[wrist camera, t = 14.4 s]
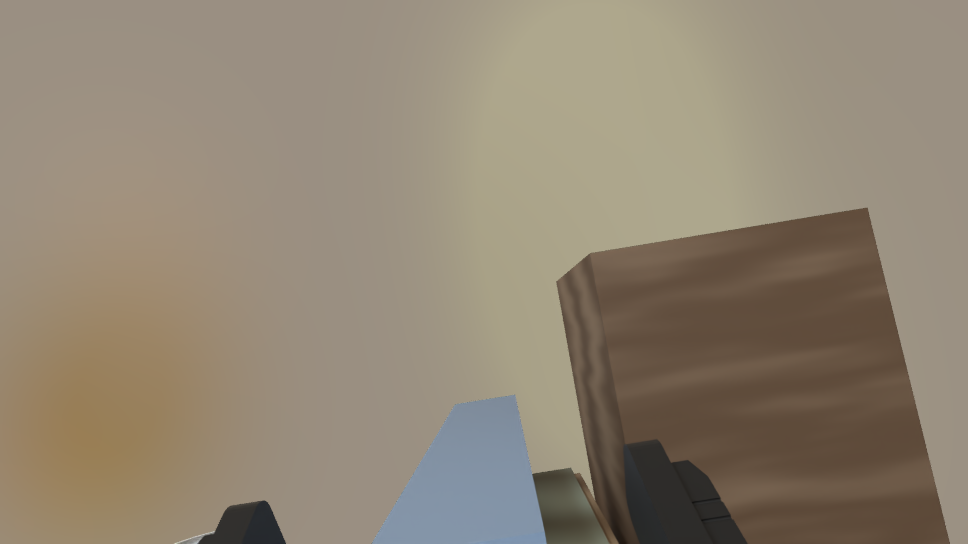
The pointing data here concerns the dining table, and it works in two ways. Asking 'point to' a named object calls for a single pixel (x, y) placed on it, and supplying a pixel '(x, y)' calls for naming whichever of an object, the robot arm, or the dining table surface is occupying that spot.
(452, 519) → the bar
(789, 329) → the stand
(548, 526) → the tall wooden block
